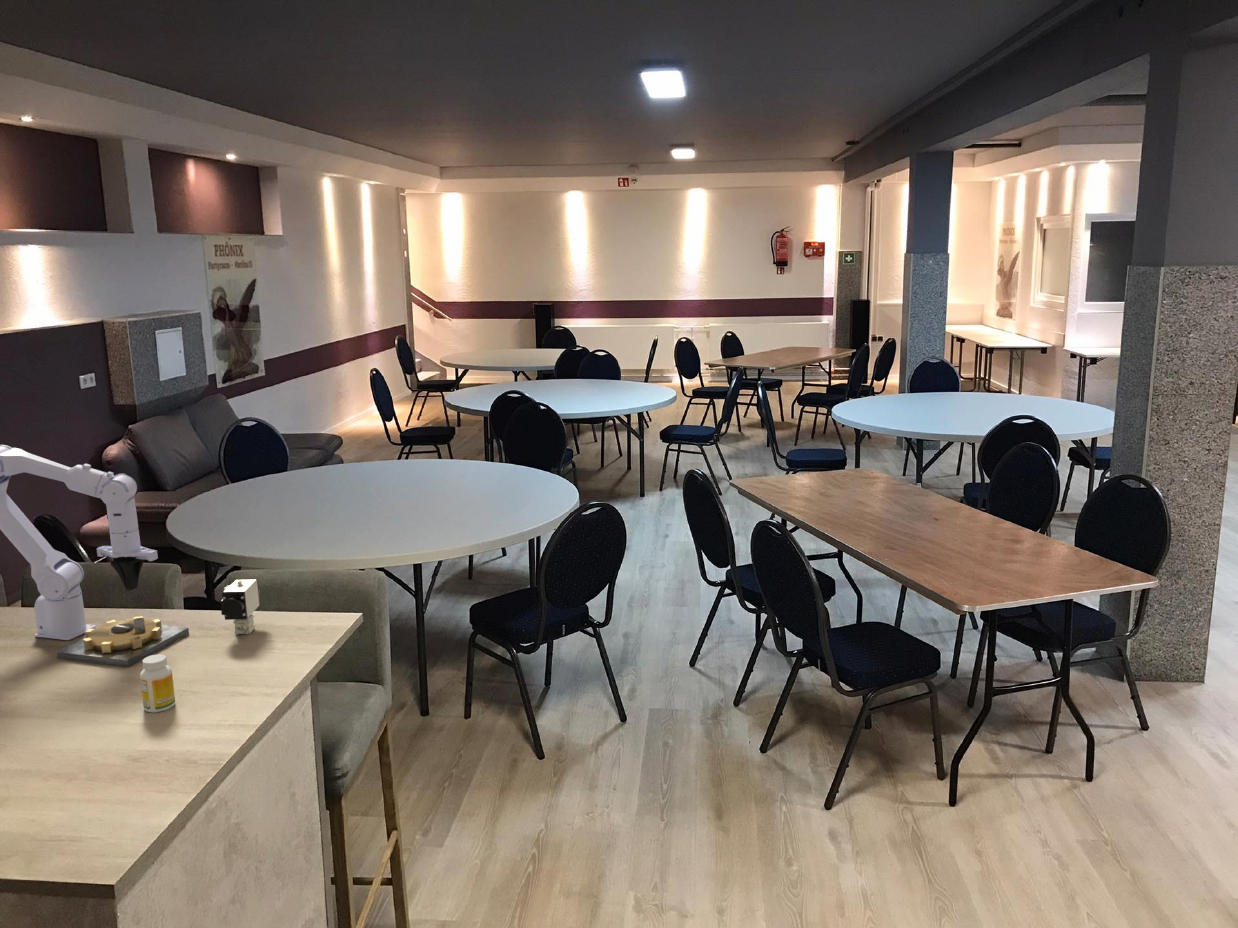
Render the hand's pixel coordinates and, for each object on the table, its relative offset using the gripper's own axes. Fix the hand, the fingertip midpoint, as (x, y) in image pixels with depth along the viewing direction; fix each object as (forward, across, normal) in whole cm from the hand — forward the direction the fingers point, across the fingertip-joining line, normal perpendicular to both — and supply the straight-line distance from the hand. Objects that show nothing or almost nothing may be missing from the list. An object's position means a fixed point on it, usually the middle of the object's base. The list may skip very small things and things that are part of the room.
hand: (131, 588), depth 215 cm
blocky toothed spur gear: (+8, +5, -9) cm, 13 cm away
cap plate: (+9, +5, -9) cm, 14 cm away
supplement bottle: (+10, +33, -31) cm, 46 cm away
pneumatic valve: (+10, +25, +4) cm, 27 cm away
